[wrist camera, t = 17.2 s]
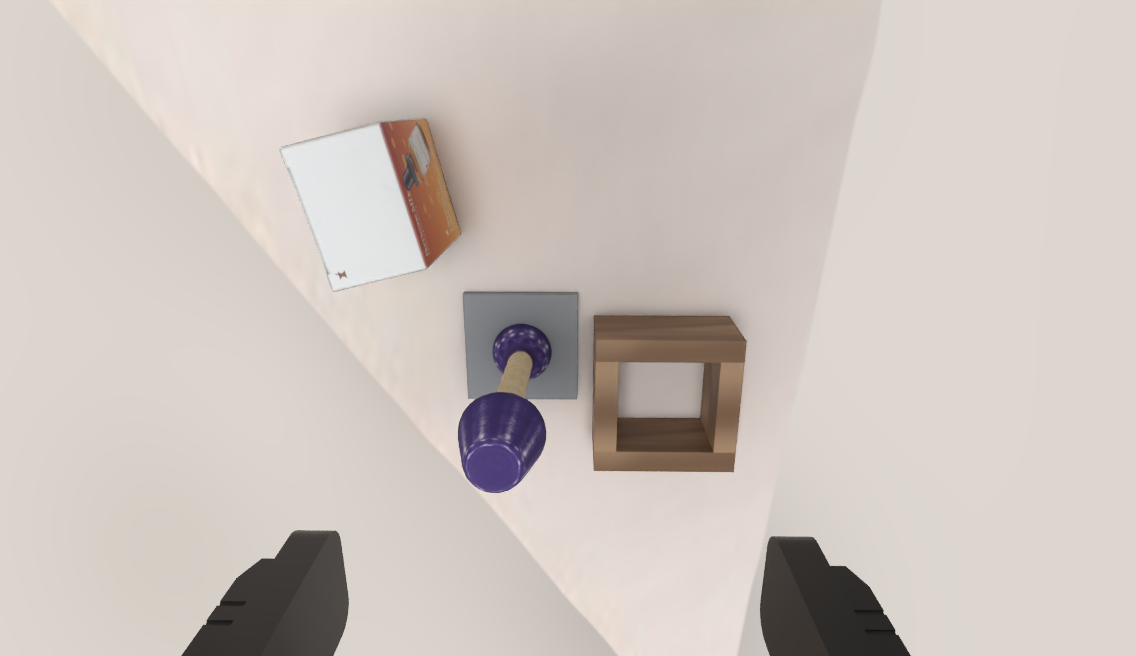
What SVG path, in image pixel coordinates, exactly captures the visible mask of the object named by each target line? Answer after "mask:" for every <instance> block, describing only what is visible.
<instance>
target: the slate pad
mask: <svg viewBox="0 0 1136 656" xmlns="http://www.w3.org/2000/svg"><path fill="white" fill-rule="evenodd" d="M463 310H464V328H465V346H466V365H467V383H468V399H477V398H479V397H481V396H483V395H486V394H489V393H494V392H497V390H498V387H499V384H500V383H501V378H502V375H503V374H502V373H501V372H500V371H499V369H498V368H497V366H496V364H495V362H494V359H493V344H494V341H495V339H496V337H497V335H498V334H499V333H500V332H501V331H502V330H503V329H505V328H506V327H509V326H511V325H514V324H527V325H531V326H534V327H536V328H538V329H539V330H540V331H542V332H543V333H544V334H545V335H546V337H547V338H548V340H549V343H550V345H551V350H552V353H551V354H552V355H551V360H550V363H549V365H548V367H547V368H546V370H545V371H544V372H543V373H542V374H540V375H539V376H538V377H536V378H534V379H532V380H529V383H528V386H527V389H526V394H525V397H524V398H525V399H577V293H558V292H464V293H463Z"/></svg>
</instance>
